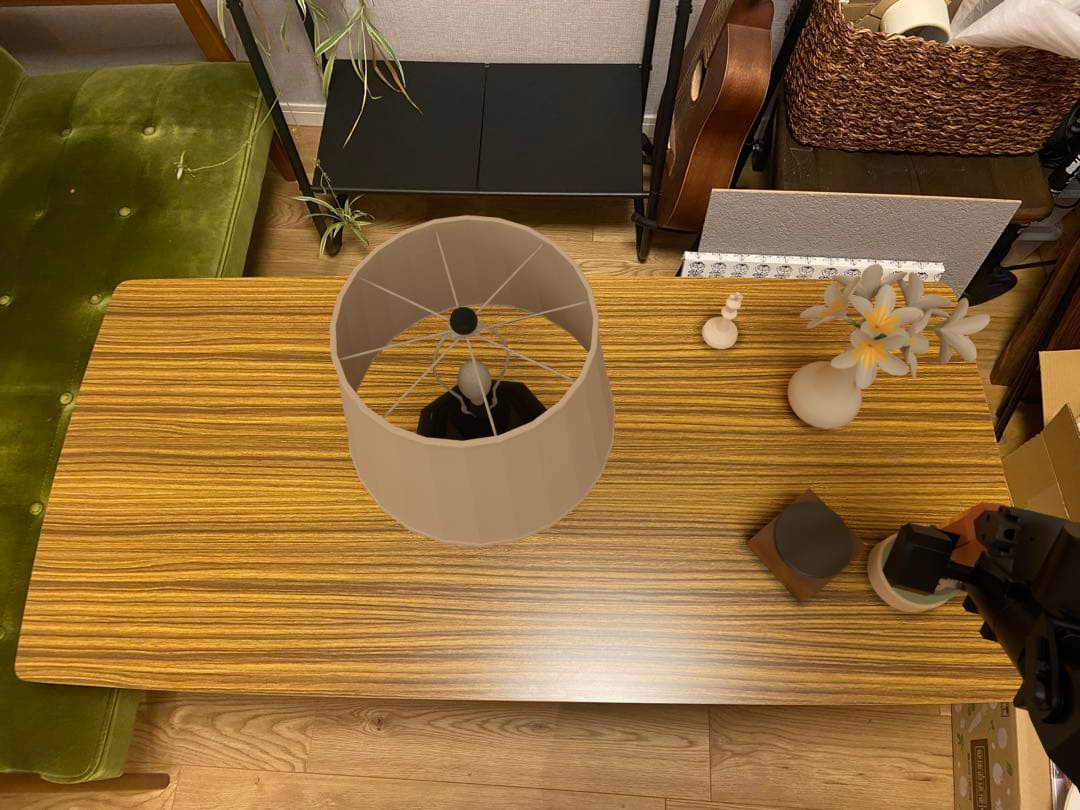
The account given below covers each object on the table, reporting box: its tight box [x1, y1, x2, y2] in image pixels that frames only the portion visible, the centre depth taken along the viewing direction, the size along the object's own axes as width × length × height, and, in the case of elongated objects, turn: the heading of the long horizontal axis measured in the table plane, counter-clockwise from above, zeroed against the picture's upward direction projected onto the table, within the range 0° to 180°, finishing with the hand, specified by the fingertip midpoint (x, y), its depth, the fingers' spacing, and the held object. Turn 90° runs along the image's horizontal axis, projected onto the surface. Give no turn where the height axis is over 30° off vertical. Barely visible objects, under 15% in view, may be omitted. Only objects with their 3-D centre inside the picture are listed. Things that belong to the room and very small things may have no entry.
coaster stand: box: [745, 487, 868, 604], centre depth 84 cm, size 9×9×6 cm
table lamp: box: [329, 214, 617, 548], centre depth 72 cm, size 27×27×40 cm
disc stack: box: [866, 524, 962, 613], centre depth 81 cm, size 9×9×9 cm
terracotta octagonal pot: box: [937, 501, 1010, 578], centre depth 71 cm, size 6×6×8 cm
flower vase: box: [786, 263, 991, 430], centre depth 83 cm, size 13×18×25 cm
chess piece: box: [701, 291, 744, 350], centre depth 95 cm, size 5×5×10 cm
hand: (962, 536), depth 74 cm, fingers closed on terracotta octagonal pot, 6 cm apart
